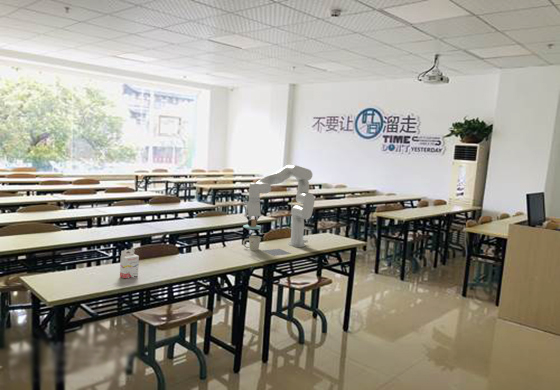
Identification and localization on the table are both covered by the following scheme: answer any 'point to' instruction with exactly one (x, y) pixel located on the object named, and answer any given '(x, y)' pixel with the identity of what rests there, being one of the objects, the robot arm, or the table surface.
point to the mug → (253, 242)
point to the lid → (252, 225)
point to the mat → (276, 252)
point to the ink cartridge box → (129, 264)
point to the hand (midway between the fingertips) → (252, 225)
